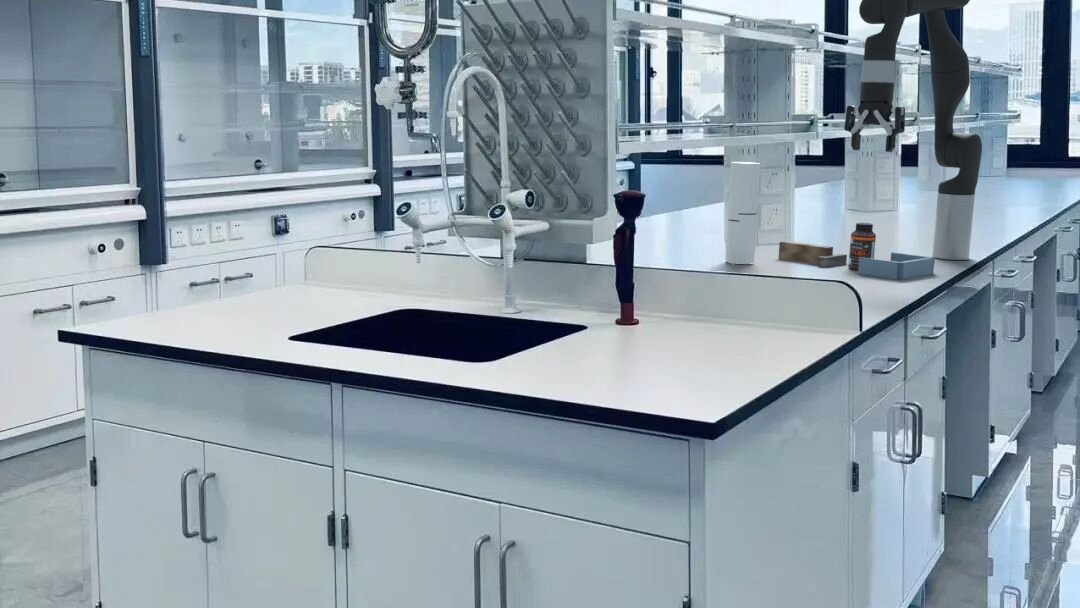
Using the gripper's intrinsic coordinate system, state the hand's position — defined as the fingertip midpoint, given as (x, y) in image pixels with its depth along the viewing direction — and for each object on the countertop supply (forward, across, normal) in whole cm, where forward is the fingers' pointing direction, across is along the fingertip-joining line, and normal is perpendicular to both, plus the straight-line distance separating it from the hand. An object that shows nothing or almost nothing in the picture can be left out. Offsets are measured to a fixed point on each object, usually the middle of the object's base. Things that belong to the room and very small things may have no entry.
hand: (872, 150), depth 264 cm
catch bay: (+29, -5, -6) cm, 30 cm away
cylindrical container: (+29, +28, +11) cm, 42 cm away
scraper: (+29, +20, -6) cm, 36 cm away
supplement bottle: (+29, +4, -6) cm, 30 cm away
